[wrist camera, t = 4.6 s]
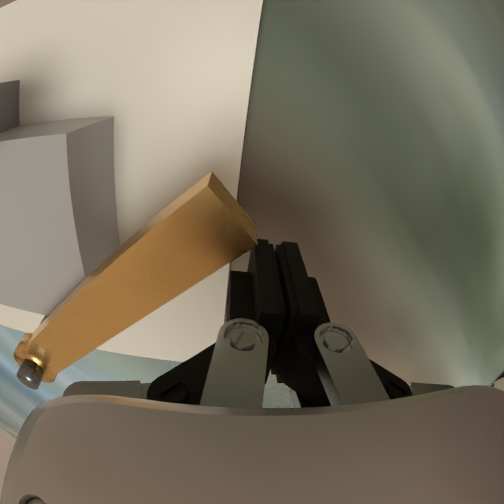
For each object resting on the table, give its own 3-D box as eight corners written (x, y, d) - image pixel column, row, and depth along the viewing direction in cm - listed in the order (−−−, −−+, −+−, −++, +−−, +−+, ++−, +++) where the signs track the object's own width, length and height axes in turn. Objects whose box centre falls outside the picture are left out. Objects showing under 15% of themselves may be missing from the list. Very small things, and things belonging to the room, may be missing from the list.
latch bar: (52, 370, 16) (40, 400, 14) (17, 342, 14) (2, 371, 12) (260, 230, 11) (266, 273, 9) (205, 163, 10) (194, 191, 7)
